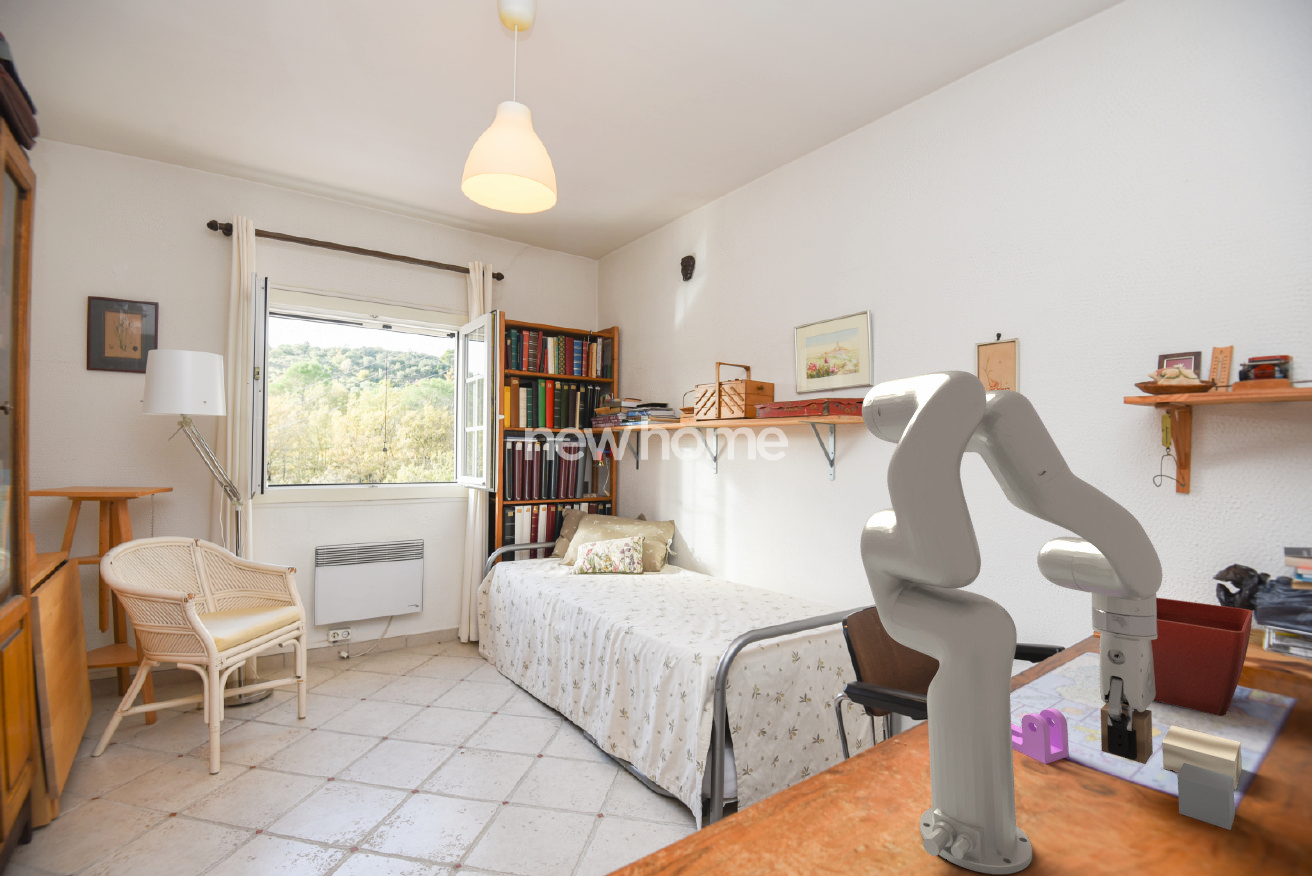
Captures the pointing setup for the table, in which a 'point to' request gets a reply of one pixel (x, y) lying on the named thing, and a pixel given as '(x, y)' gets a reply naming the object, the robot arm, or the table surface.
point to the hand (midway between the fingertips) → (1126, 748)
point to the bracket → (1042, 736)
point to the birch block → (1201, 752)
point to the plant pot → (1199, 654)
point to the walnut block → (1140, 725)
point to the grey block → (1206, 795)
